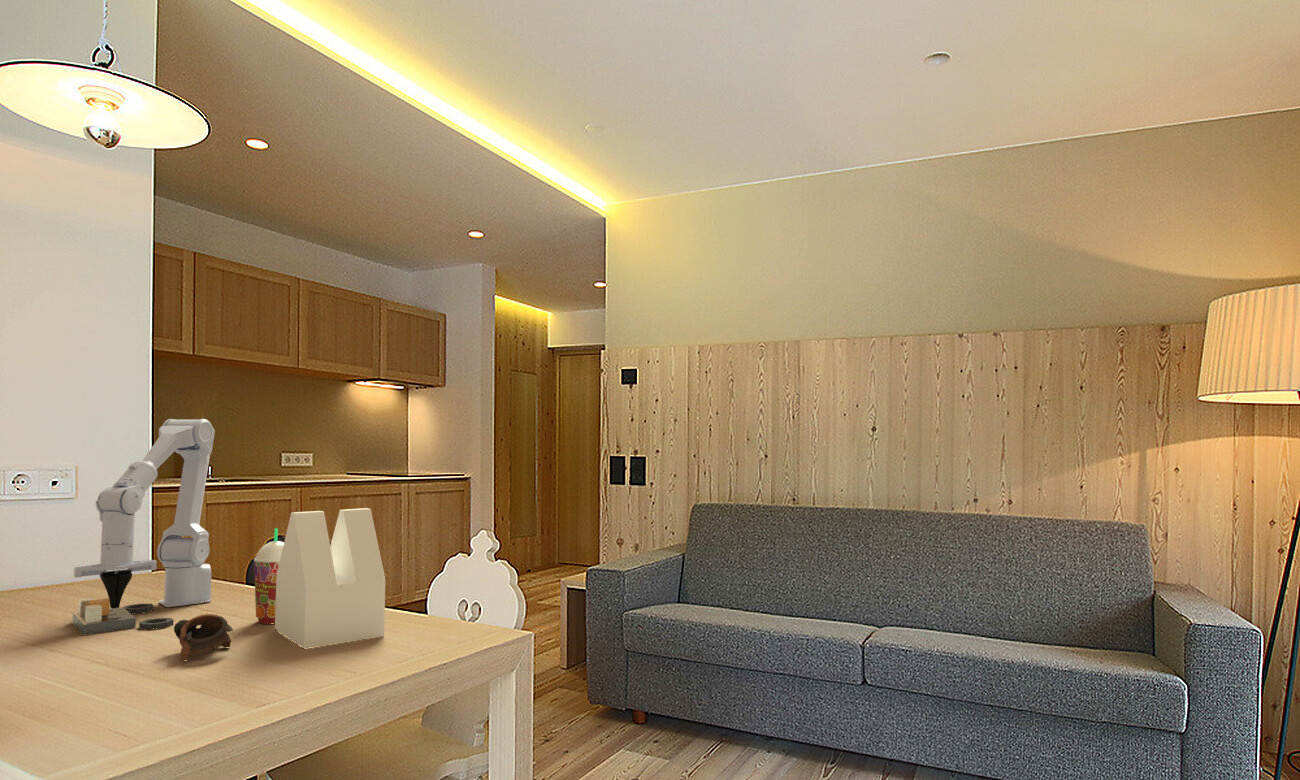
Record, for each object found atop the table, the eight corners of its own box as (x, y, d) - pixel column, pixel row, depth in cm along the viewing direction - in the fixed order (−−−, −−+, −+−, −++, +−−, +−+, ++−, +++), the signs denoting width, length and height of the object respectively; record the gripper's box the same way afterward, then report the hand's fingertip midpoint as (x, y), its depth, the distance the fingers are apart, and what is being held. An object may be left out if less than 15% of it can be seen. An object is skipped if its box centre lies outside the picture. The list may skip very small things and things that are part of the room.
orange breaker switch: (106, 612, 167) (107, 598, 167) (109, 614, 165) (109, 600, 165) (92, 614, 165) (93, 599, 165) (95, 616, 163) (95, 602, 163)
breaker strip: (122, 616, 173) (123, 593, 173) (135, 627, 163) (136, 603, 163) (72, 622, 167) (73, 599, 167) (82, 635, 157) (83, 609, 157)
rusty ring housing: (247, 650, 148) (243, 617, 145) (208, 686, 140) (203, 652, 136) (193, 631, 151) (189, 598, 147) (153, 665, 142) (146, 631, 139)
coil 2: (168, 621, 168) (169, 616, 168) (175, 626, 164) (175, 621, 164) (137, 626, 164) (137, 620, 164) (143, 631, 160) (143, 625, 160)
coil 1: (149, 607, 182) (149, 602, 182) (155, 611, 178) (155, 606, 178) (120, 611, 178) (120, 606, 178) (125, 615, 174) (125, 610, 174)
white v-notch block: (384, 636, 157) (387, 512, 159) (304, 650, 147) (308, 516, 148) (349, 619, 172) (352, 505, 173) (274, 630, 162) (278, 509, 163)
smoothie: (242, 623, 167) (245, 529, 168) (274, 615, 174) (277, 525, 176) (271, 627, 164) (274, 531, 165) (303, 619, 171) (305, 527, 172)
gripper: (78, 548, 159) (75, 615, 159) (160, 542, 169) (158, 605, 169) (73, 544, 164) (70, 610, 164) (153, 538, 174) (150, 600, 174)
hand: (114, 607), depth 166 cm, fingers closed
